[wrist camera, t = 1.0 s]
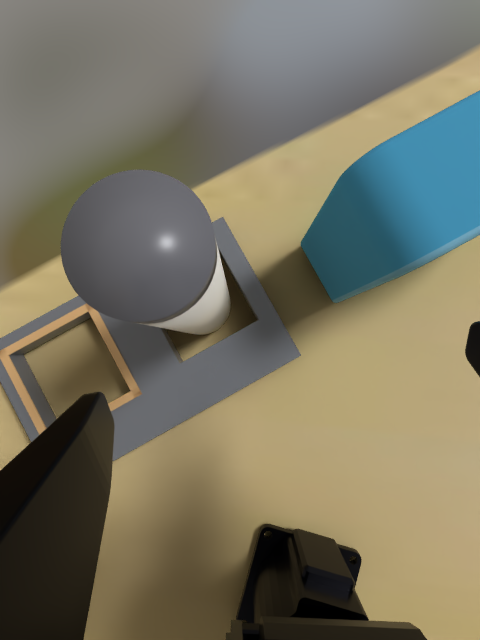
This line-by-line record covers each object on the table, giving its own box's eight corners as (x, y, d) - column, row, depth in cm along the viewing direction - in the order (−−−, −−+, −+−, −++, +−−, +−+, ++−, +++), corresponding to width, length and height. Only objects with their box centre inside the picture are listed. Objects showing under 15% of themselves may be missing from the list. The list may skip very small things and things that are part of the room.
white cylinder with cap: (221, 342, 24) (190, 339, 9) (163, 325, 24) (40, 297, 9) (237, 284, 25) (233, 192, 10) (180, 268, 25) (87, 152, 10)
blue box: (449, 164, 25) (638, 2, 13) (483, 221, 25) (708, 109, 13) (295, 248, 25) (346, 159, 13) (328, 307, 25) (412, 272, 13)
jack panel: (297, 354, 24) (301, 355, 23) (68, 483, 24) (56, 493, 22) (223, 224, 25) (222, 216, 23) (-2, 347, 24) (-19, 348, 23)
